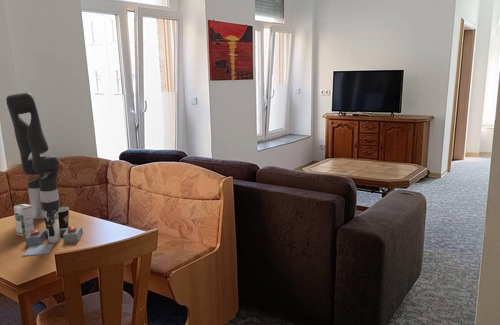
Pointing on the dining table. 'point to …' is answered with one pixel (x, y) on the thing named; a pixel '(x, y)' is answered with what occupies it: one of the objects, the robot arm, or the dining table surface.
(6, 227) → the dining table surface
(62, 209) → the coffee mug
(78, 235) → the housing
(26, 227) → the syrup box
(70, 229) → the right plunger
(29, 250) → the mat
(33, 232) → the left plunger
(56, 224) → the cylinder
